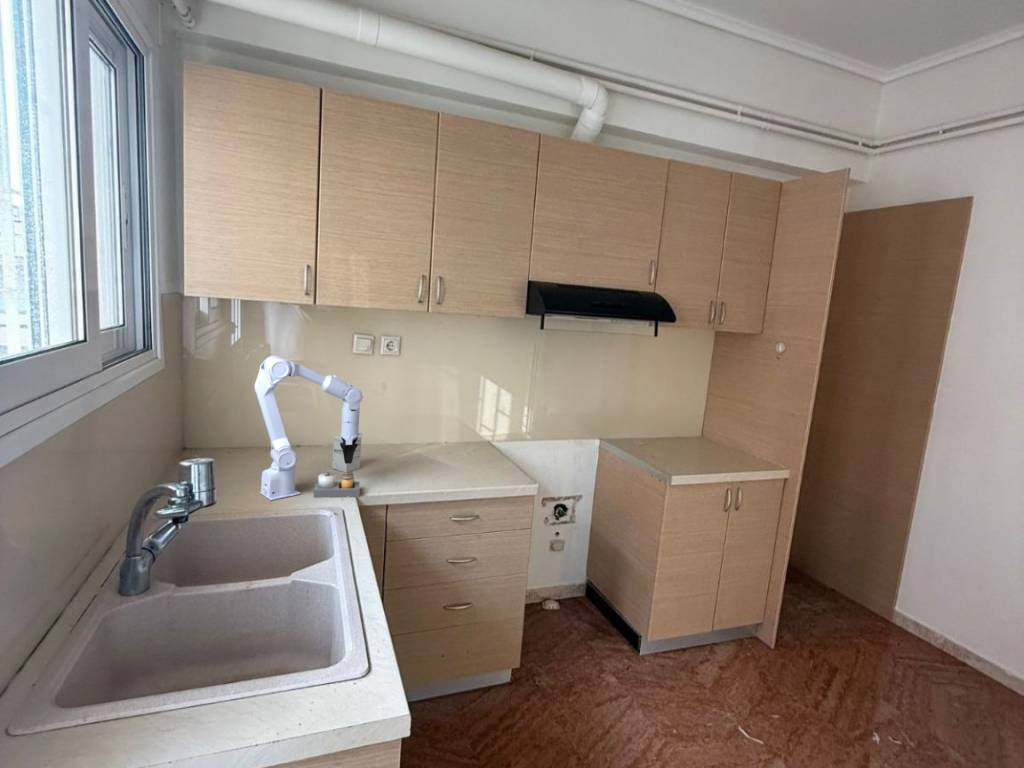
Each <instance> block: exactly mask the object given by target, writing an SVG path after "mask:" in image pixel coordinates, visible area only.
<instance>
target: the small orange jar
mask: <svg viewBox="0 0 1024 768" xmlns="http://www.w3.org/2000/svg"><path fill="white" fill-rule="evenodd" d="M340 475H341V476H340V479H341V481H340V482H341V488H353V482H354V478H355V476H354V474H353V473H342V474H340Z"/></svg>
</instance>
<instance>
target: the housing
mask: <svg viewBox="0 0 1024 768" xmlns="http://www.w3.org/2000/svg"><path fill="white" fill-rule="evenodd" d="M317 479H318V481H315V483H314V488H313V498H314V497H330V498H348V497H347V496H351V497H350V498H360V481H353V488H341V482H342V481H336V474H334V473H330V472H329V471H324V472H323V473H320V474H318V477H317Z"/></svg>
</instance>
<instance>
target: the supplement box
mask: <svg viewBox="0 0 1024 768" xmlns="http://www.w3.org/2000/svg"><path fill="white" fill-rule="evenodd" d="M340 442H343V441H342V439H341V436H340V434H339V435H334V436H333V449H332V463H331V465H332V466H331V468H332V470H333V469H334V470H337V471H340V472H344V473H345V474H348V473H349V472H353V471H355V470H359V469H360V465H361V454H362V453H361V451H362V450H361V449H362V436H361V437H358V439H357V441H356V443H355V444H358V446H357V448H356V449H355V452H354V455H353V460H352V463H351V464H345V461H344V455H343V450H342V448H341V446H340Z"/></svg>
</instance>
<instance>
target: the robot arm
mask: <svg viewBox="0 0 1024 768" xmlns="http://www.w3.org/2000/svg"><path fill="white" fill-rule="evenodd" d="M288 377H290V378H294V377H300V378H302V379H305V380H307V381H310V382H312V383H314V384H316V385H319V386H320V389H321V391H322V392H325V393H327V394H329V395H331V396H333V397H335V398H337V399H341V400H342V402H341V403H342V407H341V422H340V425H341V426H340V427H341V428H340V434H339V435H340V436H341V439H342V441H343V442H340V446H341V448H342V450H343V455H344V461H345V464H351V463H352V460H353V455H354V452H355V449H356V448H357V446H358V444H355V443H356V441H357V439H358V437H361V438H362V437H363V433H361V432H359V429H360V411H361V409H360V408H361V407H360V405H361V402H362V401H363V399H364V395H363V392H362V391H361V389H360V388H358V387H356V386H354V385H352V384H351V382H348V381H343V380H342V379H340V378H339V376H337V375H335V374H333V375H331V374H329V375H326V376H324V375H321V374H320V373H318V372H316V371H314V370H311V369H310V368H308V367H307V366H304V365H302V364H300V363H299V362H295V361H292V360H290V359H286V358H281V357H280V356H278V355H270V356H268V357H267V358H265V359H264V361H262V363H261V364H260V366H259V371H258V374H257V377H256V380H255V383H254V392H255V394H256V397H257V401H258V403H259V408H260V411H261V414H262V417H263V420H264V424H265V428H266V431H267V433H268V434H267V435H268V437H269V440H270V442H269V443H270V447H271V448H270V449H271V450H270V458H271V459H272V460H273V461H272V463H271V465H270V467H269V468H267V469H264V470H262V472H261V482H260V483H261V486H260V488H261V489H260V493H259V494H261V495H262V496H264V497H265V498H266V499H268V500H269V501H274V500H279V499H284V498H289V497H293V496H298V495H301V492H300V491H298V490H296V465H297V462H298V456H297V454H296V453H297V452H295V451H294V450H293V449H292V446H291V444H290V442H289V439H288V437H287V434H286V431H285V426H284V424H283V423H284V422H283V421H282V417H281V413H280V410H279V407H278V404H277V399H276V397H275V393H274V390H275V389H276V387H277V386H278V385H279V383H280V382H282V381H284V380H285V379H287V378H288Z"/></svg>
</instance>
